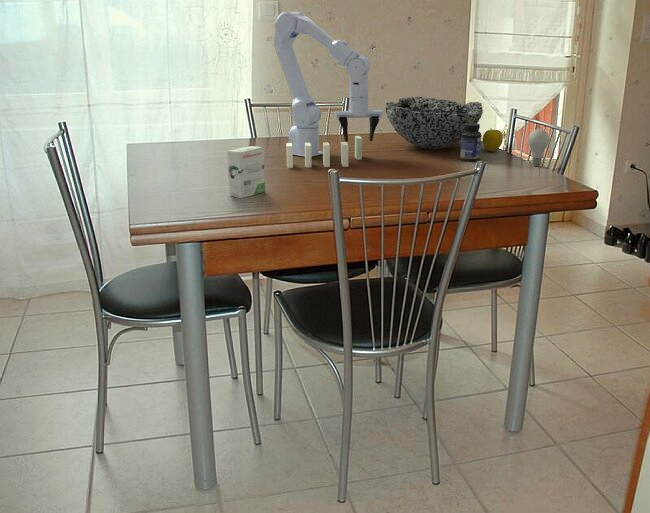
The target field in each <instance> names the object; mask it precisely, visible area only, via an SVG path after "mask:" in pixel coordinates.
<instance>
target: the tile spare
mask: <svg viewBox="0 0 650 513" xmlns="http://www.w3.org/2000/svg"><path fill="white" fill-rule="evenodd" d="M362 156H363V138H362V137H361V136H360V135H355V136H354V157H355V160H359V161H360V160H363V157H362Z"/></svg>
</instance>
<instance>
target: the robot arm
mask: <svg viewBox="0 0 650 513" xmlns="http://www.w3.org/2000/svg"><path fill="white" fill-rule="evenodd" d="M273 24H274V38H273V47H274V50H275V52H276V55H277V56H276V57H277V59H278V61H279V63H280V67H281V69H282V72H283V75H284V77H285V78H284V79H285V81H286V84H287V86H288V89H289V92H290V95H291V98H292V103H291V109H292V121H293V122H294V124H295V125H293V126H292V127H290V130H289V132H288V143H292V152H293V155H294V156H299V157H304V158H305V143H310V144H311V158H312V157H316V156H320V155H323V151H321V150H320V149H319V148H320V147H319V146H320V140H319V139H320V134H319V128H320V127H319V125H320V124H319V123H318V122H319V121H320V120H321V117H322V111H321V109H320V107H319V105H317V103H316V102H315V100H314V99H315V98H313V97H312V96H311V95H310V94H309V90H308V88H307V86H306V82H305V80H304V77H303V72H302V70H301V68H300V67H301V66H300V64H299V63H298V60H297V56H296V53H295V51H294V48H293V44H294V43H295V41H296V39H297V36H299V34H301V35H307V36H310V37H311V38H312V39H313V40H315V42H317V43H319V44H320V45H321V46H323V47H325V48H326V49H327V51H328V55H329V57H331V58H332V59H333V60H334V61H336V62H337V63H339V64H340V65H341V66H342V67H343V68H345V69H346V71H347V73H348V74H349V110H339V111H334V117H335V118H334V119H336V120H337V119H338V121H339V123H340V126H341V128H342V132H343V136H344V142H347V143H348V142H349V134H348V128H349V127H348V126H349V121H348V119H354V118H357V119H359V118H361V119H362V118H363V119H364V118H368V119H369V136H368V138H369V139H368V140H369V141H370V142H373V138H374V134H375V131H376V128H377V126H378V124H379V123H380V118H383V110H379V109H378V110H377V109H376V110H371V109H370V110H369V71H370V70H371V67H372V66H371V61H370V60H369V58H368V57H367V56H366V55H363V54H362V55H360V54H361V52H360V51H357V50H355V49H353V48H352V47H351V46H349V45H348V44H349V42H348V41H346V40H342V39H337V40H335V39H334V38H333V37H332V36H330V35H329V34H328V33H327V32H326V31H325V30H323V29H322V28H321V27H320V26H319V25H318V24H317V23H315V22H314V21H313V20H312V19H311V18H309V17H308V16H307V15H304V14H303V12H301V11H283V12H280V14H278V16H277V18H276V19H275V22H274V23H273Z"/></svg>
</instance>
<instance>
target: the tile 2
mask: <svg viewBox="0 0 650 513" xmlns="http://www.w3.org/2000/svg"><path fill="white" fill-rule="evenodd" d="M304 165H305V168H306V169H307V168H312V157H311V144H310V143H305V157H304Z"/></svg>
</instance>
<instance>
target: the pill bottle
mask: <svg viewBox="0 0 650 513" xmlns="http://www.w3.org/2000/svg"><path fill="white" fill-rule="evenodd" d="M480 126H481V124H480V123H466V124H464V129H465V131H464V132H462V134H461V140H460V152H459V153H460V154H459V158H460V160H461V161H462V162H463V161H464V162H473V163H474V162H479V161H480V160H481V152H482V151H481V149H482V137H483V135H482V133H481V132H480V129H481V128H480Z"/></svg>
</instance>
